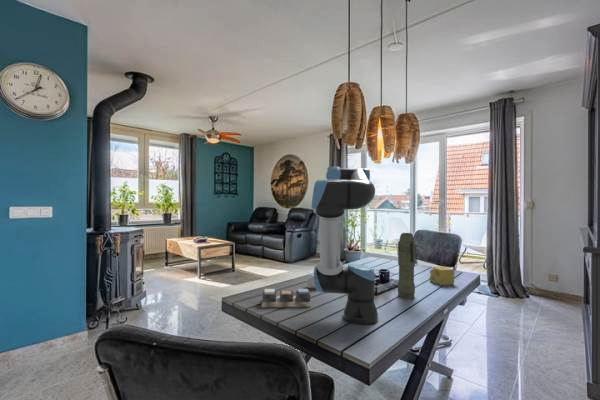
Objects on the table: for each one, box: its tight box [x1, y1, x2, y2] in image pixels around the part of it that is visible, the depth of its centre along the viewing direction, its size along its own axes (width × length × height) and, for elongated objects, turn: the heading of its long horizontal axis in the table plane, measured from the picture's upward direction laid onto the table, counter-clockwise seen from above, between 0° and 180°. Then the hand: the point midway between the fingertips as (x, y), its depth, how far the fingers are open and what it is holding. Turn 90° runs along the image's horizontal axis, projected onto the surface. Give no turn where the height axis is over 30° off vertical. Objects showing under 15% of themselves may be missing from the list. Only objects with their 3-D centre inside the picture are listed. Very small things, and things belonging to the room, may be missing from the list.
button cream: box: [263, 288, 276, 294], centre depth 145 cm, size 5×5×3 cm
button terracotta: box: [281, 290, 292, 294], centre depth 145 cm, size 5×5×3 cm
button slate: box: [297, 288, 310, 294], centre depth 146 cm, size 5×5×3 cm
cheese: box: [429, 265, 455, 286], centre depth 186 cm, size 10×11×10 cm
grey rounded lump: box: [305, 273, 316, 289], centre depth 172 cm, size 8×9×10 cm
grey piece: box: [261, 289, 312, 308], centre depth 145 cm, size 24×10×6 cm, turn 94°
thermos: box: [397, 232, 417, 300], centre depth 158 cm, size 9×12×35 cm
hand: (333, 237), depth 159 cm, fingers closed
